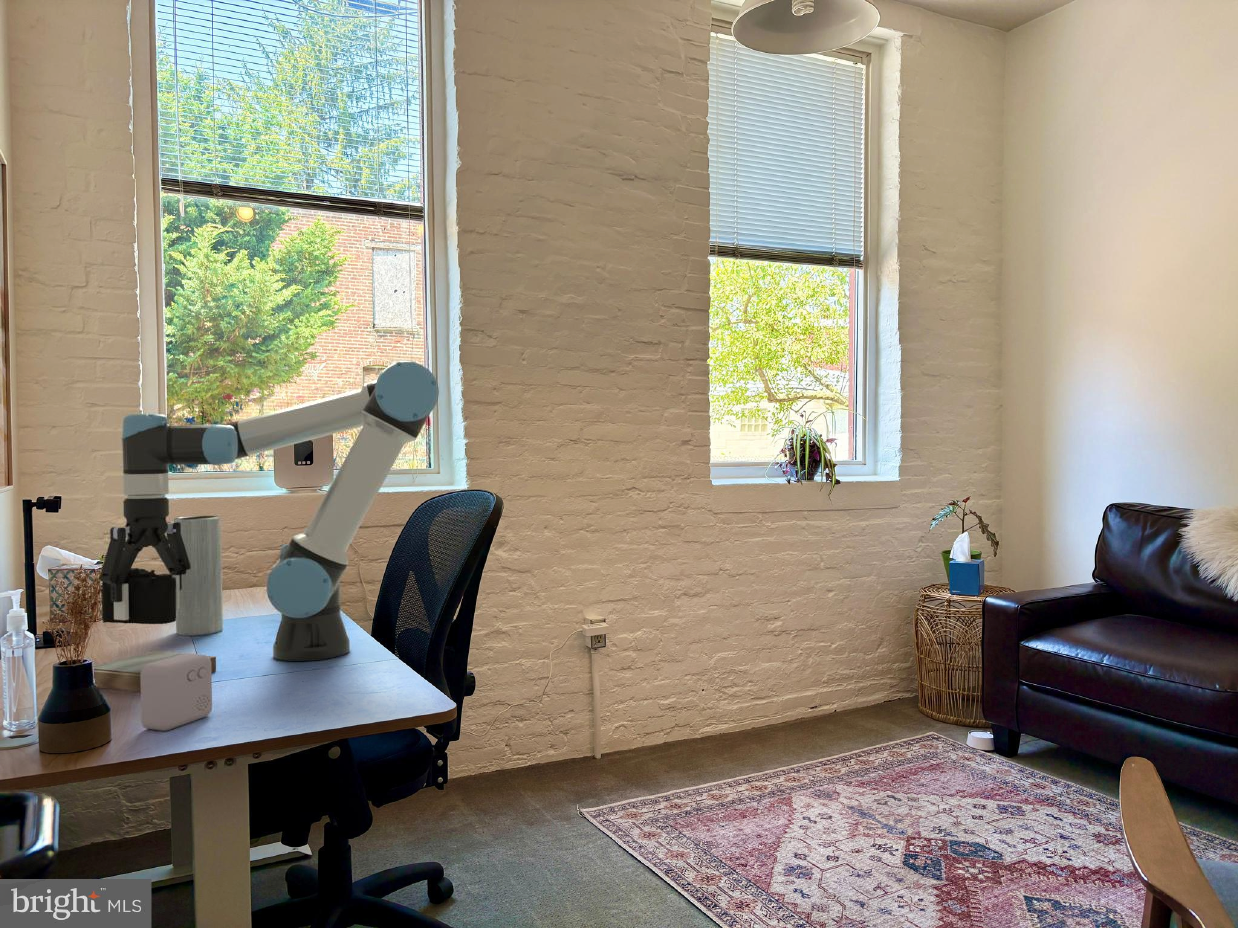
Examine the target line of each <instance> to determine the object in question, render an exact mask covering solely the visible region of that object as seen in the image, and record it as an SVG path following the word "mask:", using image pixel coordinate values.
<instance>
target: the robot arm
mask: <svg viewBox="0 0 1238 928" xmlns="http://www.w3.org/2000/svg"><path fill="white" fill-rule="evenodd" d="M439 389H440V388H439V385H438V381H437V379H436V377H435V375H434V374H433V373H432V372H431V371H430V369H429V368H427V367H426V366H424V365H423V364H421V363H418V362H416V361H411V360H410V361H409V360H402V361H401V360H400V361H396V362H394V363H391V364H390V365H388V366H386V367H385V369H383V370H382V371H381V372H380V373H379V375H378V377H377V378H376V380H372V381H369V382H364V383H363V386H362V387H361V388H360V389H358V390H357V389H356V390H353V391H350V392H349V391H348V392H345V393H341V394H338V395H334V396H330V397H325V398H322V399H317V400H315V401H309V402H306V403H302V404H297V405H294V406H291V407H287V408H283V409H279V410H275V411H271V412H268V413H263V414H259V415H255V416H251V417H248V418H243V419H241V420H236V421H231V422H227V423H223V424H216V423H215V424H213V423H212V424H186V425H185V424H182V425H181V424H180V425H179V424H178V425H177V424H170V423H169V422H168V417H167V416H166V414H162V413H161V414H156V413H155V414H154V413H153V414H149V413H133V414H128V415H127V414H126V416H124V418H123V419H122V420H123V422H122V437H121V443H122V445H121V446H122V471H123V472H122V473H123V474H122V481H123V484H122V487H123V489H122V491H123V495H124V496H126V497H127V498H124V500H123V502H122V503H123V504H122V505H123V517H124V518H125V520H126V523H125V525H124V527H123V526H122V527H117V526H116V527H115V526H113V527H110V529H109V530H110V531H109V533H110V534H109V536H110V537H109V543H108V547H107V551H106V554H105V558H104V561H103V566H102V569H101V572H100V576H99V581H100V582H106V583H107V584H110V585H111V601H112V602H114V619H115V620H129V602H128V584H123V583H124V581H125V579H126V577H127V575H128V573H129V571H130V569H131V568H133V567H132V566H133V565H134V563H135V560H136V559H137V557H138V555H139V553H140V552H142V550H143V549H144V548H148V547H152V548H153V549H155V551H156V552H157V554H158V556H159V558H160V559H161V562H162V563H163V564H164V566H165V568H166V570H167V571H168V574H172V577H175V578H176V609H180V591H181V589H182V575H184V574H186V570H189V569H190V568H191V565H190V562H189V559H188V556H187V552H186V549H185V546H184V542H183V539H182V536H181V524H180V522H174V521H167V517H168V516H169V515H170V508H169V507H170V505H169V503H170V499H169V498H168V497H166V496H167V495H169V493H170V492H169V490H170V489H169V465H174V466H175V465H176V466H177V465H192V466H193V465H195V466H196V465H197V466H198V465H203V466H205V465H212V466H220V465H228V464H229V465H231V464H233V463H234V462H235V461H236V460H239V459H242V458H247V457H249V456H250V457H251V456H254V455H258V454H260V453H261V454H262V453H264V452H268V451H273V450H278V449H280V448H284V447H288V446H291V445H295V444H296V445H297V444H300V443H303V442H308V441H311V440H315V439H319V438H323V437H327V436H330V435H334V434H339V433H342V432H346V431H349V430H350V431H351V430H354V429H357V428H361V427H362V428H361V429H360V431H359V434H358V435H357V437H356V438H355V440H354V442H353V443H352V446H351V448H350V449H349V451H348V453H347V454H346V457H345V459H344V460H343V462H342V464H341V466H340V467H339V470H338V471H337V473H336V475H335V476H334V479H333V481H332V482H331V484H330V486H329V488H328V489H327V491H326V493H325V495H324V497H323V498H322V500H321V502H320V503H319V506H318V507H317V509H316V511H315V513H314V515H313V517H312V519H311V520H310V522H309V524H308V526H307V527H306V529H305V530H304V532H302V533H301V532H300V533H298V534H296V535H293V536H292V538H291V539H290V542H289V543H287V544H283V545H282V546H281V548H280V552H279V557H278V558H279V561H278V563H277V564H276V565H275V566H274V567H273V568H271V571H270V572H269V574H268V577H267V579H266V580H267V582H266V594H267V597H268V600H269V603H270V605H272V607H273V608H274V609H275V610H276V611H277V612H279V613H280V614H281V620H280V622H279V627H278V628H277V629H278V630H277V632H276V635H275V636H276V637H275V640H274V642H273V646H272V650H273V651H272V654H273V655H272V657H273V658H274V659H277V660H280V661H286V662H308V661H319V660H327V659H332V658H336V657H340V656H344V655H345V654H348V653H349V652H350V649H351V648H350V644H351V643H350V638H349V636H348V633H347V630H346V627H345V624H344V620H343V618H342V614H341V578H342V576H343V574H344V572H345V571H346V568H347V567H348V565H349V563H350V561H349V559H348V555H347V550H348V548H349V547H350V545H351V543H352V541H353V540H354V537H355V536H356V534H357V532H358V531H359V528H360V527H361V525H362V523H363V521H364V519H365V517H366V515H367V513H368V512H369V509H370V508H371V506H372V505H373V502H374V501H375V499H376V497H377V495H378V493H379V492H380V491H381V488H382V486H383V484H384V482H386V479H387V477H388V475H389V473H390V471H391V470H392V468H393V466H394V464H395V462H396V460H397V459H398V457H399V455H400V454H401V451H402V449H403V448H404V446H405V445H406V444H407V443H411V442H414V441H416V440H417V438H418V436H419V435H420V432H421V431H422V430H423V427H424V425H425V424H426V422H427V419H428V418H429V417H430V415H431V413H432V411H433V410H434V409H435V407H436V405H437V403H438V401H439V396H440V395H439V393H440V390H439Z"/></svg>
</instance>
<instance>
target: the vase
mask: <svg viewBox="0 0 1238 928" xmlns="http://www.w3.org/2000/svg"><path fill="white" fill-rule="evenodd" d="M173 522H180V524H181V536H182V539H183V542H184V546H185V549H186V552H187V556H188V559H189V562H190V565H191V568H190V569H189V570H186V574H184V575H182V589H181V591H180V609H176V621H175V629H176V634H177V635H179V636H187V637H188V636H189V637H192V636H193V637H194V636H196V637H197V636H206V635H211V634H216V633H220V632H221V631H222V630H223V629H224V615H223V614H224V612H223V566H222V565H223V563H222V562H223V561H222V560H223V558H222V557H223V555H222V518H221V516H219V515H192V516H191V515H190V516H189V515H188V516H178V517H175V518H174V519H173Z"/></svg>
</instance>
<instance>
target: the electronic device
mask: <svg viewBox="0 0 1238 928" xmlns="http://www.w3.org/2000/svg"><path fill="white" fill-rule="evenodd" d="M181 654H182V655H178V656H174V657H171V658H167V659H163V660H159V661H155V662H152V663H148V664H146V665H145V666H144V667H143V668H142V670H141V675H140V678H141V692H140V711H141V712H140V717H141V719H140V720H141V725H142V727H143V728H144V729H147V730H148V729H149V730H155V731H163V732H166V731H169V730H173V729H175V728H178V727H181V726H183V725H186V724H189V723H192V722H195V721H198V720H201V719H203V718H206V717H208V716H209V715H210V714H211V713H212V709H213V687H212V685H213V684H212V683H213V682H212V673H211V660H210V658H209V657H208V656H209V655H206V654H202V653H201V654H200V653H199V654H198V653H188V652H186V653H181Z"/></svg>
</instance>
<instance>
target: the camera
mask: <svg viewBox="0 0 1238 928" xmlns="http://www.w3.org/2000/svg"><path fill="white" fill-rule="evenodd" d="M155 571H156V570H155V569H152V570H150V571H149V570H147V569H145V568H139V567H135V568H134V567H131V569H130V571H129V573H128V575H127V577H126V579H125V581H124V583H123V584H128V602H129V620H115V619H114V602H112V601H111V585H110V584H107V583H106V582H102V581H101V582H102V584H101V587H102V588H101V602H102V603H101V604H102V605H101V612H102V613H101V615H102V617H101V619H102V623H103V624H105V623H110V624H111V623H112V624H113V623H114V624H138V625H140V624H141V625H166V624H171V623H172V624H173V623H174V622H175V623H176V578H175V577H172V574H170V573H160V574H159V573H157V574H156V573H155Z"/></svg>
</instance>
